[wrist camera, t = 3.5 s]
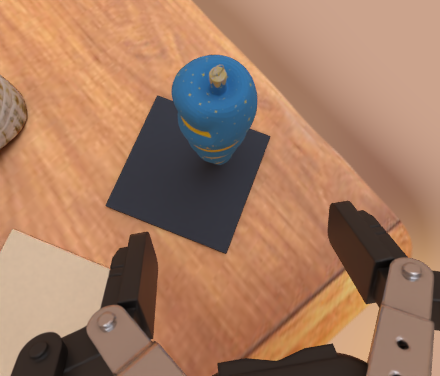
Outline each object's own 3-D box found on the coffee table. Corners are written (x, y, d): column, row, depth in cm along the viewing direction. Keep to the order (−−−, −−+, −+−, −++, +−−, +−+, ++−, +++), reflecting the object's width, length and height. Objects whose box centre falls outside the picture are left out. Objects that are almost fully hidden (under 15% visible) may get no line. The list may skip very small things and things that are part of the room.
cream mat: (153, 286, 29) (152, 286, 28) (83, 455, 26) (80, 458, 25) (15, 229, 30) (12, 228, 29) (-67, 385, 27) (-71, 387, 27)
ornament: (179, 151, 31) (142, 54, 16) (224, 123, 31) (227, 5, 17) (209, 195, 30) (198, 134, 15) (254, 165, 31) (286, 79, 16)
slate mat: (269, 137, 32) (270, 136, 31) (226, 253, 29) (226, 253, 29) (158, 97, 33) (157, 95, 32) (106, 206, 30) (105, 205, 30)
